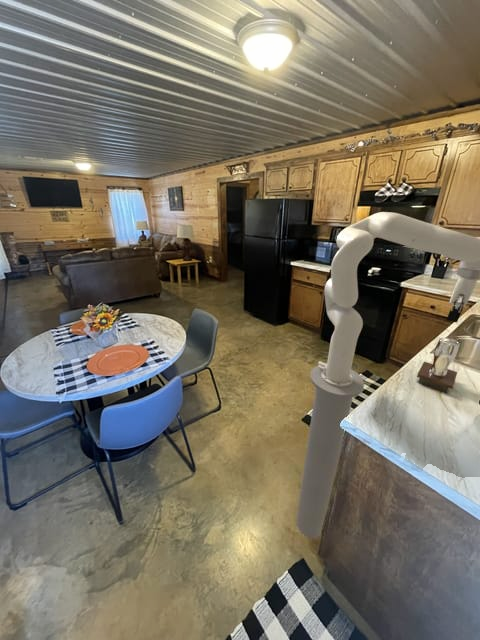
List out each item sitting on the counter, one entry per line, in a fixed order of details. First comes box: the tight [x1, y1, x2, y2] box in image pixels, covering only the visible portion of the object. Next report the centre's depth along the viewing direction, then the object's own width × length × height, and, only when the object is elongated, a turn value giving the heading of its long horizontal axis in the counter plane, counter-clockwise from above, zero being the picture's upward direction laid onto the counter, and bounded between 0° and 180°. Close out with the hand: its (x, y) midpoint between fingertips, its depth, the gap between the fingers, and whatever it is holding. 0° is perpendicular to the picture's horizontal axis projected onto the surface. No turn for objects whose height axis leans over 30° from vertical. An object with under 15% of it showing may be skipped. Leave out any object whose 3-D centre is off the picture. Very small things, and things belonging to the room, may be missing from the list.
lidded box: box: [416, 361, 458, 394], centre depth 110 cm, size 12×13×4 cm
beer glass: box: [429, 337, 460, 377], centre depth 106 cm, size 7×7×15 cm
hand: (453, 317), depth 100 cm, fingers open, 9 cm apart
